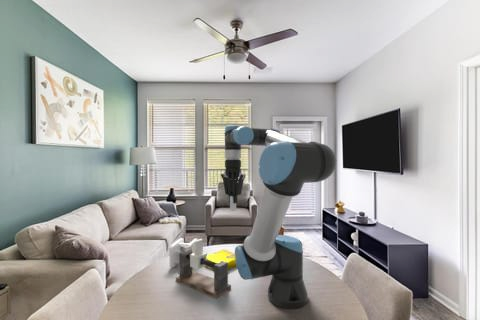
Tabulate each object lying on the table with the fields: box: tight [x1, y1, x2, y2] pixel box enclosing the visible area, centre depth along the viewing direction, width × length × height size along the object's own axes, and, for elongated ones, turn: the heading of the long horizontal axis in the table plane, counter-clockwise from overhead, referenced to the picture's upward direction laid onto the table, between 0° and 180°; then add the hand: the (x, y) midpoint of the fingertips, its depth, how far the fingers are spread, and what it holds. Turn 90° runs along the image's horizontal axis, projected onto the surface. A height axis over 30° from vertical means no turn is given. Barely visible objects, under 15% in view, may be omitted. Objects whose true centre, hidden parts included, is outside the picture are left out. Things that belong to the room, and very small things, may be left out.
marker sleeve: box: [190, 238, 208, 270], centre depth 106 cm, size 5×5×11 cm
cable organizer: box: [168, 237, 199, 268], centre depth 126 cm, size 15×11×12 cm
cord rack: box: [175, 244, 232, 299], centre depth 104 cm, size 24×9×14 cm, turn 54°
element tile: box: [206, 249, 237, 271], centre depth 126 cm, size 15×15×5 cm
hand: (233, 210), depth 112 cm, fingers closed
